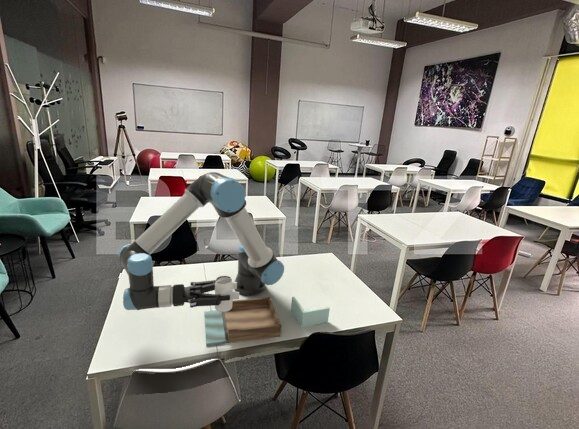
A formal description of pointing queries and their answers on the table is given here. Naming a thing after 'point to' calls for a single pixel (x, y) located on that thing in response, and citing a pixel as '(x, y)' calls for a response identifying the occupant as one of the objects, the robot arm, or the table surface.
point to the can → (224, 286)
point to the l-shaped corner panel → (309, 314)
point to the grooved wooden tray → (242, 322)
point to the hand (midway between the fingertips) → (237, 290)
